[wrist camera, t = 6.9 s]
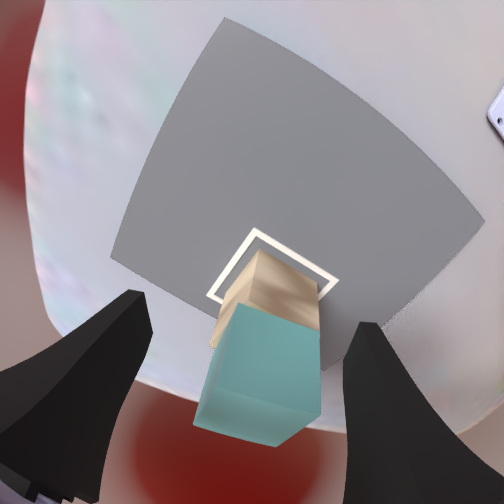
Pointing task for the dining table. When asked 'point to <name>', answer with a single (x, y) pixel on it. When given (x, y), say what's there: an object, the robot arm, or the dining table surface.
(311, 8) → the dining table surface
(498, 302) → the dining table surface
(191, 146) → the gray board
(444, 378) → the dining table surface
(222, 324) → the birch block
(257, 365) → the teal block
